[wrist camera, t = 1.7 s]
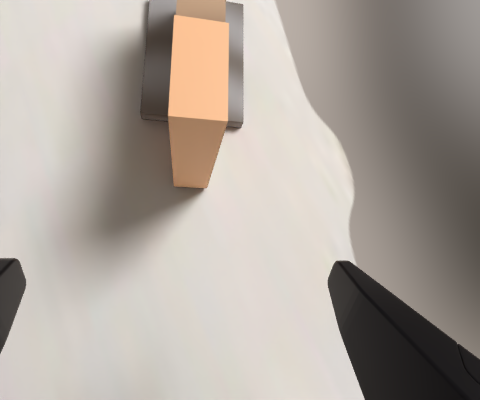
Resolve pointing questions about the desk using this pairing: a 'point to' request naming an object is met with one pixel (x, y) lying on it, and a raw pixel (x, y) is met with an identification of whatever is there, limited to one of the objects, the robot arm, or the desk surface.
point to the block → (197, 98)
